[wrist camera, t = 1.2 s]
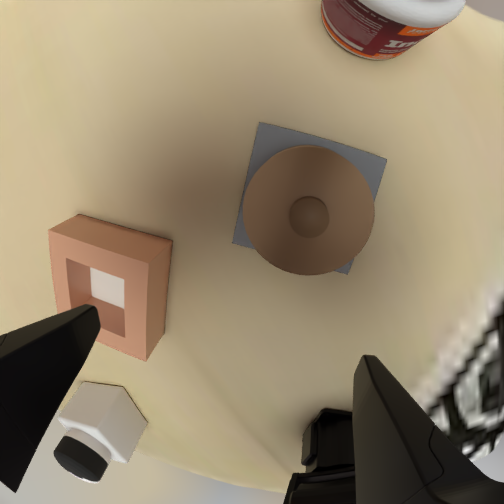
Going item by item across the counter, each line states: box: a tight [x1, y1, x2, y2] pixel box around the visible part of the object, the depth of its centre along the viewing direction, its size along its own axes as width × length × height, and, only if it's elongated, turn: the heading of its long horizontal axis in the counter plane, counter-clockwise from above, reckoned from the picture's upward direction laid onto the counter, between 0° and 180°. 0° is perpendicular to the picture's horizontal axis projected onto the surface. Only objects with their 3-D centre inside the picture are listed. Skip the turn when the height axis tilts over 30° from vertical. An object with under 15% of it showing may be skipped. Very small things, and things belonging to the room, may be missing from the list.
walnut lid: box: [243, 145, 374, 275], centre depth 17 cm, size 7×7×4 cm
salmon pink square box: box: [48, 214, 173, 361], centre depth 22 cm, size 9×9×4 cm
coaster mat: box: [232, 122, 387, 275], centre depth 19 cm, size 8×8×1 cm
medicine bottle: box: [54, 382, 147, 483], centre depth 27 cm, size 7×7×12 cm
